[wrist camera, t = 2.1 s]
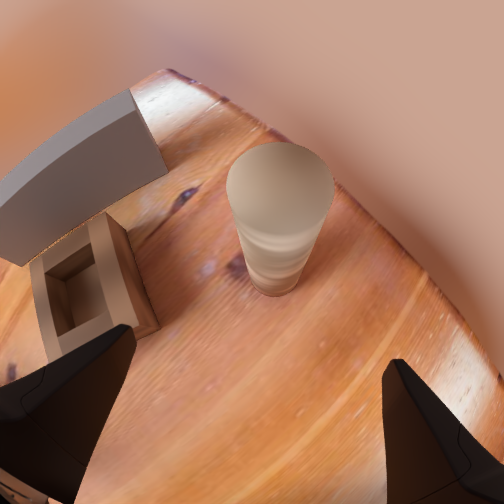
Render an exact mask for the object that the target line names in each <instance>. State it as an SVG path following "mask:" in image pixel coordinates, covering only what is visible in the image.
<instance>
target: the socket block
mask: <svg viewBox="0 0 504 504" xmlns="http://www.w3.org/2000/svg"><path fill="white" fill-rule="evenodd" d="M29 265H30V274H31V282H32V289H33V296H34V302H35V307H36V313H37V318H38V322H39V327H40V331H41V335H42V340H43V343H44V347H45V351H46V354H47V358H48V361H49V363H51V362H53V361H54V360H56V359H58V358H60V357H62V356H63V355H65V354H67V353H69V352H71V351H72V350H74V349H76V348H78V347H80V346H81V345H83V344H85V343H87V342H88V341H90V340H92V339H94V338H96V337H97V336H99V335H101V334H103V333H105V332H106V331H108V330H110V329H112V328H113V327H115V326H117V325H119V324H127V325H130V326H131V327H132V328H133V331H134V335H135V338H136V340H138V339H141V338H143V337H145V336H147V335H149V334H151V333H153V332H155V331H158V330H160V329H161V328H160V326H159V323H158V321H157V318H156V316H155V313H154V311H153V308H152V306H151V303H150V301H149V298H148V295H147V293H146V290H145V287H144V285H143V282H142V279H141V276H140V273H139V270H138V267H137V264H136V261H135V258H134V255H133V252H132V249H131V246H130V243H129V239H128V236H127V233H126V230H125V229H124V228H123V227H122V226H121V225H119V224H118V223H117V222H116V221H115V220H114V219H113V218H112V217H111V216H109V215H108V214H107V213H106V212H103V213H102V214H100V215H99V216H97V217H95V218H94V219H92V220H91V221H89V222H88V223H86V224H85V225H83V226H81V227H80V228H78V229H77V230H75V231H74V232H72V233H71V234H70V235H68V236H67V237H65V238H64V239H62V240H61V241H59V242H58V243H57V244H55V245H54V246H52V247H51V248H50V249H48V250H47V251H46V252H44V253H43V254H42V255H40V256H39V257H38V258H36V259H35V260H34V261H32V262H31V263H30V264H29Z"/></svg>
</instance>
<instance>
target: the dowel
mask: <svg viewBox="0 0 504 504" xmlns="http://www.w3.org/2000/svg"><path fill="white" fill-rule="evenodd" d="M226 190H227V195H228V199H229V203H230V206H231V210H232V214H233V217H234V221H235V225H236V228H237V232H238V236H239V239H240V243H241V246H242V250H243V254H244V257H245V261H246V264H247V268H248V272H249V275H250V279H251V282H252V284H253V286H254V287H255V288H256V289H257V290H258V291H259V292H260V293H262V294H264V295H266V296H270V297H279V296H283V295H285V294H287V293H289V292H290V291H291V290H292V289H293V288H294V287H295V286H296V284H297V282H298V280H299V278H300V275H301V273H302V271H303V269H304V267H305V264H306V262H307V260H308V258H309V255H310V253H311V251H312V249H313V246H314V244H315V242H316V239H317V237H318V235H319V232H320V230H321V228H322V225H323V223H324V221H325V218H326V216H327V213H328V211H329V209H330V206H331V204H332V201H333V198H334V190H335V187H334V180H333V177H332V174H331V172H330V170H329V168H328V166H327V165H326V164H325V162H324V161H323V160H322V159H321V158H320V157H319V156H317V155H316V154H315V153H314V152H312V151H310V150H309V149H307V148H305V147H302V146H299V145H296V144H292V143H286V142H271V143H265V144H261V145H258V146H256V147H253V148H251V149H249V150H248V151H246V152H245V153H243V154H242V155H241V156H240V157H239V158H238V159H237V160H236V161H235V162H234V164H233V165H232V167H231V169H230V171H229V173H228V177H227V183H226Z"/></svg>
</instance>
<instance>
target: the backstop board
mask: <svg viewBox="0 0 504 504" xmlns="http://www.w3.org/2000/svg"><path fill="white" fill-rule="evenodd" d="M167 173H169V172H168V169H167V167H166V165H165V162H164V160H163V157H162V155H161V153H160V150H159V148H158V146H157V144H156V142H155V140H154V138H153V136H152V134H151V132H150V130H149V128H148V126H147V124H146V122H145V120H144V118H143V116H142V114H141V112H140V110H139V108H138V106H137V104H136V102H135V100H134V98H133V96H132V94H131V92H130V90H129V88H128V89H126V90H124V91H123V92H121V93H119V94H117V95H115V96H113V97H112V98H110V99H108V100H106V101H105V102H103V103H101V104H100V105H98V106H97V107H95V108H93V109H91V110H90V111H88V112H86V113H85V114H83V115H82V116H80V117H79V118H78V119H76V120H74V121H73V122H71V123H70V124H69V125H67V126H66V127H64V128H63V129H61V130H60V131H59V132H57V133H56V134H55V135H53V136H52V137H51V138H49V139H48V140H47V141H45V142H44V143H43V144H42V145H40V146H39V147H38V148H37V149H35V150H34V151H33V152H32V153H31V154H29V155H28V156H27V157H26V158H25V159H24V160H23V161H21V162H20V163H19V164H18V165H17V166H16V167H15V168H14V169H13V170H12V171H10V172H9V173H8V174H7V175H6V176H5V177H4V178H3V179H2V180H1V181H0V257H1V258H3V259H5V260H7V261H9V262H12V263H14V264H16V265H18V266H20V267H22V266H23V265H24V264H26V263H27V262H28V261H29V260H31V259H32V258H33V257H35V256H36V255H37V254H39V253H40V252H41V251H42V250H44V249H45V248H47V247H48V246H49V245H51V244H52V243H53V242H55V241H56V240H58V239H59V238H60V237H62V236H63V235H65V234H66V233H67V232H69V231H70V230H72V229H73V228H75V227H76V226H78V225H79V224H81V223H82V222H84V221H85V220H87V219H88V218H90V217H92V216H93V215H95V214H96V213H98V212H99V211H101V210H103V209H104V208H106V207H108V206H109V205H111V204H113V203H114V202H116V201H118V200H119V199H121V198H123V197H124V196H126V195H128V194H130V193H131V192H133V191H135V190H137V189H138V188H140V187H142V186H144V185H146V184H148V183H149V182H151V181H153V180H155V179H157V178H159V177H161V176H163V175H165V174H167Z"/></svg>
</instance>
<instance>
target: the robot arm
mask: <svg viewBox="0 0 504 504" xmlns="http://www.w3.org/2000/svg"><path fill="white" fill-rule="evenodd" d="M136 346H137V342H136V338H135V335H134V331H133V328H132V327H131V326H130V325H127V324H119V325H117V326H115V327H113V328H112V329H110V330H108V331H106V332H105V333H103V334H101V335H99V336H97V337H96V338H94V339H92V340H90V341H88V342H87V343H85V344H83V345H81V346H80V347H78V348H76V349H74V350H72V351H71V352H69V353H67V354H65V355H63V356H62V357H60V358H58V359H56V360H54V361H53V362H51V363H49V364H47V365H46V366H44V367H42V368H40V369H38V370H36V371H35V372H33V373H31V374H29V375H27V376H25V377H23V378H20V379H18V380H16V381H14V382H11V383H9V384H7V385H4V386H2V387H0V504H49V502H48V498H49V497H50V498H52V499H54V500H56V501H59V502H61V503H63V504H74V501H75V499H76V496H77V493H78V490H79V487H80V485H81V482H82V479H83V477H84V474H85V472H86V469H87V468H86V467H87V466H88V463H89V461H90V458H91V456H92V453H93V451H94V449H95V446H96V444H97V441H98V439H99V437H100V434H101V432H102V430H103V427H104V425H105V423H106V420H107V418H108V416H109V414H110V411H111V409H112V407H113V405H114V403H115V401H116V398H117V396H118V394H119V392H120V390H121V388H122V385H123V383H124V381H125V378H126V375H127V372H128V370H129V367H130V364H131V361H132V358H133V355H134V353H135V350H136ZM382 417H383V428H384V438H385V451H386V469H387V504H504V465H503V464H501V463H500V462H499V461H498V460H497V459H496V458H495V457H493V456H492V455H491V454H490V453H489V452H488V451H487V450H486V449H485V448H484V447H483V446H482V445H481V444H480V443H479V442H478V441H477V440H476V439H475V438H474V437H473V436H472V435H471V434H470V433H469V431H468V430H467V429H466V428H465V427H464V426H463V425H462V423H460V421H459V420H458V419H457V418H456V417H455V416H454V414H453V413H452V412H451V411H450V410H449V409H448V408H447V407H446V405H445V404H444V403H443V402H442V401H441V400H440V399H439V398H438V396H437V395H436V394H435V393H434V392H433V391H432V390H431V389H430V388H429V387H428V386H427V384H426V383H425V382H424V381H423V380H422V379H421V378H420V377H419V376H418V375H417V374H416V373H415V371H414V370H413V369H412V368H411V367H410V366H409V365H408V364H407V363H406V362H405V361H404V360H403V359H392V360H391V361H390V363H389V364H388V366H387V368H386V370H385V371H384V373H383V376H382Z"/></svg>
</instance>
